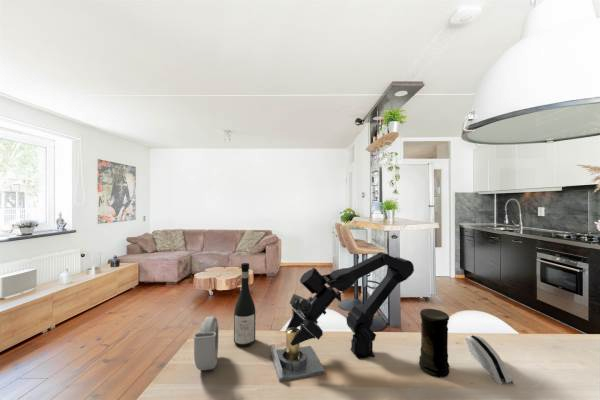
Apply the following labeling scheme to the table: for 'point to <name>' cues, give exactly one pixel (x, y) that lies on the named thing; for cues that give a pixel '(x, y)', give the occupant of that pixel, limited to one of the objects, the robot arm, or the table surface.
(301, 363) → the jig
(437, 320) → the container
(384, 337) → the table surface
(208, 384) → the table surface
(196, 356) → the grey curved holder
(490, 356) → the grey curved piece
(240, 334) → the wine bottle
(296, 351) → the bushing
